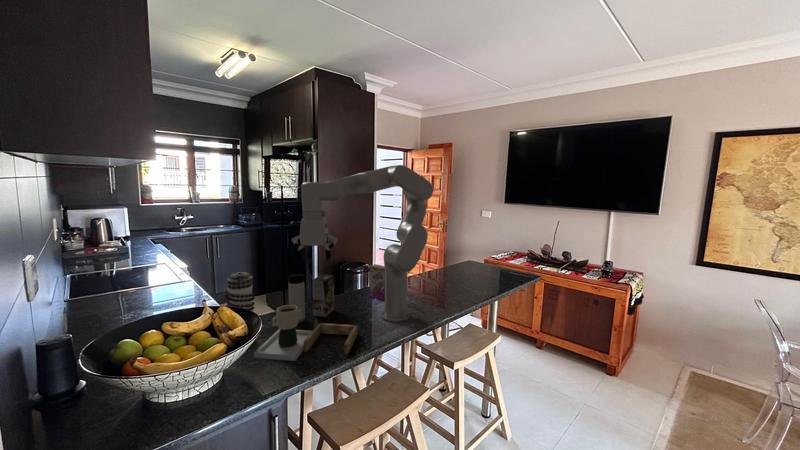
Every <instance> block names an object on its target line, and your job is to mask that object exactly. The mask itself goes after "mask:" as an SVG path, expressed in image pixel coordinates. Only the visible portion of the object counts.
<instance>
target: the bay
mask: <svg viewBox="0 0 800 450" xmlns="http://www.w3.org/2000/svg"><path fill="white" fill-rule="evenodd" d="M311 331H312V332H311V333H310V335H309V336H308V337H307V338H306V340H305V341H304V350H303V352H305V353H307V352H308V351H309V350H310V349H311V348H312V346H313V345H314V343H315V342H316V341H317V340H318V338H319V337H320V336H321V334H325V335H326V334H327V335H343V336H344V335H345V336H347V339H346V340H345V342H344V344H343V355H347V356H348V355H349V352H350V350H351V349H352V347H353V345H354V342H355V340H356V339H357V336H358V335H359V332H358V331H359V325H356V324H339V323H327V322H326V323H325V322H324V323H322V322H319V323H318V324H317V325H316V326H315V327H314V328H313V330H311Z"/></svg>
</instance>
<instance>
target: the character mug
mask: <svg viewBox="0 0 800 450" xmlns="http://www.w3.org/2000/svg"><path fill="white" fill-rule="evenodd" d="M275 313H276V314H275V316H274V317H272V319H271V326H272V327H277V328H278V329H280V332H279V342H278V344H279V345H281V346H292V345H294V344H296V343H297V334H296V330H297V329H296V327H297V326H298V324H299V323H298V319H301V318H302V311H301V310H298V307H297V306H295V305H289V304H285V305H281V306H279V307H277V308H276V312H275ZM298 313H299V316H298Z"/></svg>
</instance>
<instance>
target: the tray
mask: <svg viewBox="0 0 800 450" xmlns="http://www.w3.org/2000/svg"><path fill="white" fill-rule="evenodd" d="M312 331H313V330H305V329H296V334H297V343H296V344H294V345H292V346H281V345H279V344H278V342H279V332H280V329H279V328H278V329H277V330H276V331H275V332H274V333H273V334H272V335H271V336H270V337H269V338H268V339H266V340H265V342H263V343H262V345H260V346H259V347H258V348H257V349H256V350H255V351H254V352H253V358H254V359H266V360H279V361H291V362H292V361H293V362H296V361H297V360H298V358H299V357H300V356H301V354H302V353H303V352H304V341H305V340H306V338H307V337H308V336H309V335H310V333H311V332H312Z"/></svg>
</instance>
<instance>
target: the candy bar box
mask: <svg viewBox="0 0 800 450" xmlns="http://www.w3.org/2000/svg"><path fill="white" fill-rule="evenodd" d="M368 291H369V295H368V297H369V298H372V299H375V300H380V301H384V302H385V266H384V265H382V264H376V263H375V264H371V265H369V289H368Z"/></svg>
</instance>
